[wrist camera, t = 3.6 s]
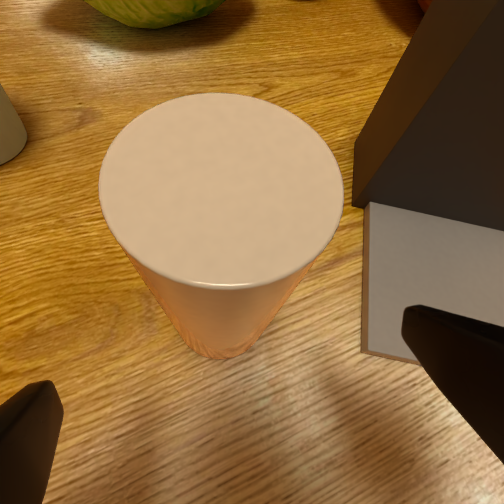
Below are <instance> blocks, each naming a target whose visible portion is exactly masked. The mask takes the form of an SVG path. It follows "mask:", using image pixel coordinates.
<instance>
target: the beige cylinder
mask: <svg viewBox="0 0 504 504" xmlns="http://www.w3.org/2000/svg"><path fill="white" fill-rule="evenodd" d="M98 189H99V202H100V206H101V210H102V214H103V216H104V219H105V221H106V223H107V225H108V228H109V230H110V231H111V233H112V234H113V236H114V237H115V239H116V240H117V242H118V243H119V245H120V246H121V248H122V249H123V251H124V252H125V254H126V255H127V257H128V258H129V260H130V261H131V263H132V264H133V266H134V267H135V269H136V270H137V272H138V273H139V275H140V276H141V278H142V279H143V281H144V282H145V284H146V285H147V287H148V288H149V290H150V291H151V293H152V294H153V296H154V297H155V299H156V300H157V302H158V303H159V305H160V306H161V308H162V309H163V311H164V312H165V314H166V315H167V317H168V318H169V320H170V321H171V323H172V324H173V326H174V327H175V329H176V330H177V332H178V333H179V335H180V336H181V338H182V339H183V341H184V342H185V343H186V344H187V346H188V347H190V348H191V349H192V350H193V351H195V352H196V353H198V354H200V355H202V356H204V357H208V358H212V359H228V358H232V357H235V356H238V355H240V354H242V353H244V352H245V351H247V350H248V349H249V348H250V347H252V346H253V344H254V343H255V342H256V341H257V340H258V338H259V337H260V336H261V334H262V333H263V331H264V330H265V329H266V327H267V326H268V325H269V323H270V322H271V321H272V319H273V318H274V317H275V315H276V314H277V313H278V311H279V310H280V308H281V307H282V306H283V304H284V303H285V302H286V300H287V299H288V298H289V296H290V295H291V294H292V292H293V291H294V290H295V288H296V287H297V286H298V284H299V283H300V281H301V280H302V279H303V277H304V276H305V275H306V273H307V272H308V271H309V269H310V268H311V267H312V265H313V264H314V263H315V261H316V260H317V258H318V257H319V256H320V254H321V253H322V252H323V250H324V249H325V248H326V246H327V245H328V244H329V242H330V241H331V239H332V238H333V236H334V234H335V232H336V230H337V228H338V226H339V222H340V219H341V216H342V212H343V205H344V186H343V180H342V175H341V172H340V169H339V166H338V163H337V161H336V159H335V157H334V155H333V153H332V151H331V150H330V148H329V147H328V145H327V144H326V142H325V141H324V140H323V139H322V138H321V136H320V135H319V134H318V133H317V132H316V131H315V130H314V129H313V128H312V127H311V126H309V125H308V124H307V123H306V122H304V121H303V120H302V119H300V118H299V117H298V116H296V115H294V114H293V113H291V112H289V111H288V110H286V109H284V108H282V107H280V106H277V105H275V104H273V103H270V102H267V101H265V100H262V99H258V98H254V97H251V96H245V95H240V94H232V93H200V94H193V95H187V96H182V97H178V98H175V99H171V100H168V101H166V102H163V103H161V104H158V105H156V106H154V107H152V108H150V109H148V110H146V111H145V112H143V113H142V114H140V115H139V116H137V117H136V118H134V119H133V120H132V121H131V122H130V123H129V124H127V125H126V126H125V127H124V128H123V129H122V130H121V132H120V133H119V134H118V135H117V136H116V137H115V139H114V140H113V142H112V143H111V145H110V146H109V148H108V150H107V153H106V155H105V157H104V159H103V163H102V166H101V170H100V176H99V186H98Z"/></svg>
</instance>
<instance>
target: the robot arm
mask: <svg viewBox="0 0 504 504" xmlns="http://www.w3.org/2000/svg"><path fill="white" fill-rule="evenodd" d="M401 335H402V338H403V340H404V342H405V343H406V345H407V346H408V347H409V349H410V350H411V351H412V353H413V354H414V356H415V357H416V358H417V360H418V361H419V362H420V364H421V365H422V367H423V368H424V369H425V371H426V372H427V374H428V375H429V376H430V378H431V379H432V380H433V382H434V383H435V384H436V386H437V387H438V388H439V390H440V391H441V392H442V393H443V394H444V396H445V397H446V398H447V399H448V400H449V401H450V403H451V404H452V405H453V406H454V407H455V408H456V410H457V411H458V412H459V413H460V414H461V415H462V417H463V418H464V419H465V420H466V421H467V422H468V423H469V425H470V426H471V427H472V428H473V429H474V430H475V432H476V433H477V434H478V435H479V436H480V437H481V439H482V440H483V441H484V442H485V443H486V444H487V446H488V447H489V448H490V449H491V450H492V451H493V452H494V454H495V455H496V456H497V457H498V458H499V459H500V461H501V462H502V463H503V464H504V327H502V326H499V325H495V324H491V323H488V322H484V321H480V320H477V319H473V318H469V317H466V316H462V315H458V314H454V313H451V312H447V311H443V310H440V309H436V308H432V307H429V306H425V305H421V304H417V305H412V306H408V307H406V308H405V309H404V311H403V318H402V326H401ZM63 414H64V411H63V405H62V403H61V400H60V398H59V395H58V393H57V390H56V388H55V385H54V384H53V382H52V381H50V380H44V381H39V382H35V383H30V384H28V385H27V386H25V387H24V388H23V389H21V390H20V391H19V392H17V393H16V394H15V395H13V396H12V397H11V398H10V399H8V400H7V401H6V402H4V403H3V404H2V405H0V504H42V501H43V498H44V495H45V492H46V488H47V484H48V480H49V476H50V472H51V468H52V463H53V459H54V455H55V450H56V446H57V442H58V438H59V433H60V429H61V425H62V421H63Z"/></svg>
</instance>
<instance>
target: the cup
mask: <svg viewBox="0 0 504 504" xmlns="http://www.w3.org/2000/svg"><path fill="white" fill-rule="evenodd" d="M26 140H27V132H26V130H25V127H24V125H23V123H22V121H21V119H20V117H19V116H18V114H17V112H16V110H15V109H14V107H13V105H12V103H11V102H10V100H9V98H8V96H7V94H6V93H5V91H4V89H3V87H2V86H1V84H0V165H1V164H3V163H5V162H7V161H9V160H11V159H12V158H14V157H15V156H16V155H17V154H19V152H20V151H21V150H22V149H23V148H24V146H25V143H26Z"/></svg>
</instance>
